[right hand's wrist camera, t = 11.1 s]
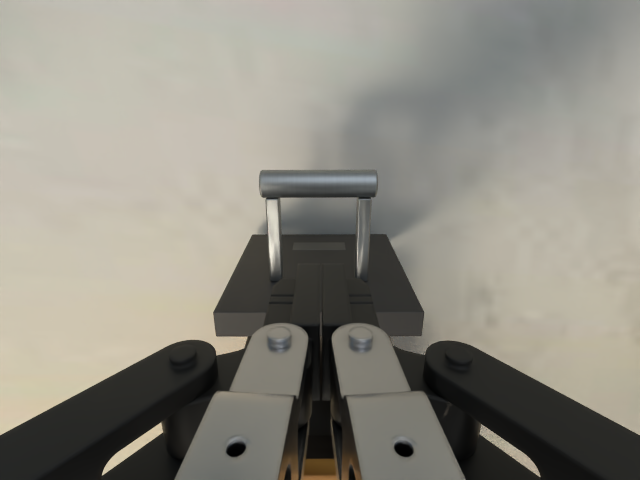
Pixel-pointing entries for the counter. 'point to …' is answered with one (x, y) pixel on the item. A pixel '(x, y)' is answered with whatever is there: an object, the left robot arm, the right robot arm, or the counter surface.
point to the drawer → (290, 250)
